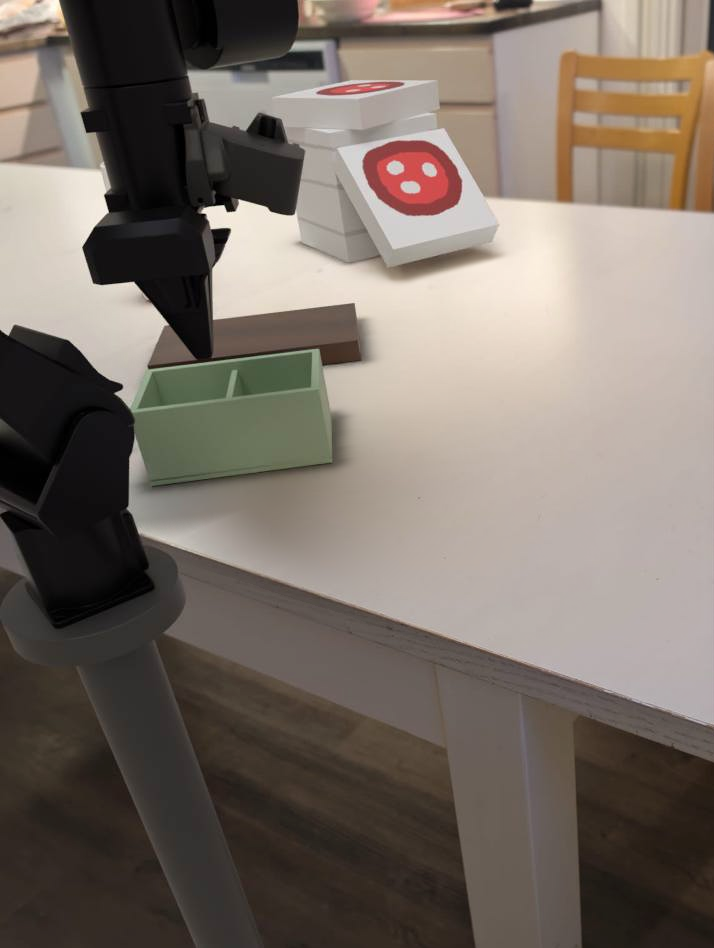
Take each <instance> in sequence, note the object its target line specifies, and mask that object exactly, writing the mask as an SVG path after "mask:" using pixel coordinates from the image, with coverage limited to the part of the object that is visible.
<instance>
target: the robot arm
mask: <svg viewBox="0 0 714 948" xmlns="http://www.w3.org/2000/svg"><path fill="white" fill-rule="evenodd" d="M58 3H59V6H60V10H61V13H62V17H63V20H64V24H65V27H66V31H67V35H68V39H69V42H70V46H71V49H72V53H73V57H74V60H75V63H76V67H77V71H78V74H79V78H80V81H81V85H82V86H83V87H82V90H83V94H84V96H85V99H86V103H87V108H85V109H83V110H82V111H80V117H81V120H82V124H83V127H84V131H85V134H92V133H95V135H96V136H95V137H96V139H97V142H98V147H99V151H100V153H101V157H102V161H103V162H104V165H105V168H106V172H107V175H108V179H109V182H110V186H111V188H110V189H109V190H108V191H107V192H106V191H105V192H104V194H103V197H104V201H105V205H106V207H107V211H108V212H107V213H106V214H105V215H104V216H103V217H102V218H101V219H100V220H99V221H98V222H97V224H95V226H93V228H92V230H91V231H90V233H89V235H88V236H87V238H86V240H85V242H84V243H83V245H82V247H81V249H82V252H83V255H84V259H85V262H86V265H87V268H88V272H89V275H90V278H91V282H92V284H93V285H98V286H107V285H108V286H109V285H119V284H126V283H127V284H128V283H134V284H135V286H136V287H137V289H139V291H141V293H142V292H143V293H144V295H145V296H146V297H147V298H148V299H149V300H148V301H149V302H150V303H151V305H152V306H153V307H154V308H155V310H156V311H157V312H158V313H159V315H160V316H162V318H163V319H164V321H165V322H166V323H167V325H169V326H170V327H171V328H172V329H173V331H174V332H175V333H176V335H177V336H178V337H179V338H180V340H181V341H182V342H183V344H184V345H185V346H186V347H187V349H188V350H189V351H190V353H191V354H192V355H193V356H194V358H195V359H197V360H202V359H210V358H211V357H212V355H213V352H214V347H213V320H214V302H213V299H214V298H213V297H214V296H213V292H214V291H213V269H214V267H215V266H216V265H217V263H219V261H220V259H221V258H222V255H223V254H224V250H225V247H226V245H227V242H228V241H229V238H230V235H231V233H232V228H230V227H217V228H211V224H210V220H209V218H208V215H207V213H203V211H204V209H206V208H210V207H211V208H212V207H221V206H224V209H225V211H226V213H235V212H237V210H238V208H239V205H240V201H242V202H247V203H249V204H250V203H251V204H254V205H257V206H261V207H265V208H267V209H268V211H269V212H270V213H273V214H276V215H281V216H286V217H287V216H290V217H291V216H294V215H295V214H296V206H297V200H298V194H299V188H300V181H301V175H302V169H303V163H304V156H305V150H304V149H302V148H300V147H299V144H295V143H293V144H289V143H288V140H287V136H286V133H285V129H284V126H283V122H282V119H280V118H276V117H274V115H269V114H266V113H262V112H257V113H256V115H255V117H254V118H253V119H252V121H251V123H250V124H249V125H248V127H247V128H246V129H245V130H244V129H240V128H241V127H239V126H236V125H232V126H228V125H227V126H226V125H223V124H219V123H215V122H211V121H210V117H209V114H208V109H207V105H206V101H205V98H200V97H199V92H193V89H192V85H191V82H190V76H189V72H188V68H187V67H188V66H187V63H188V64H189V65H191V66H192V67H193V68H196V69H199V70H204V71H205V70H211V69H217V68H218V69H219V68H224V67H230V66H236V65H242V64H248V63H255V62H261V61H267V60H275V59H279V58H282V57H284V56H286V55H288V53H289V52H290V51H291V49H292V48H293V46H294V45H295V42H296V39H297V34H298V30H299V21H300V14H299V13H300V11H299V0H58ZM186 62H187V63H186ZM123 390H124V385H123V383H120V382H118V381H114V380H111V379H109V378H107V376H105V375H103V374H101V373H100V372H99V371H98V370H97V369H96V368H95V367H94V366H93V365H92V363H91V362H90V361H89V360H88V358H87V357H86V356H85V355H84V353H83V352H82V351H81V350H79V348H78V347H77V346H75V344H73V343H72V342H71V340H69V339H67V338H63V337H59V336H56V335H52V334H50V333H46V332H42V331H39V330H37V329H36V330H35V329H32V328H29V327H25V326H22V325H18V324H14V325H12V328H11V330H10V332H9V334H6V333H5V332H3V330H1V329H0V508H1V509H2V510H5V511H3V512H0V521H1V524H2V526H3V528H4V530H5V533H6V535H7V538H8V539H9V543H10V544H11V546H12V548H13V549H12V550H13V552H14V553H15V556H16V558H17V560H18V562H19V565H20V568H21V569H22V572H23V574H24V577H25V576H26V579H27V582H26V583H25V587H26V590H27V592H28V593H29V594H30V596H31V597H32V599H33V600H34V601H35V603H36V604H37V605H38V607H39V608H40V610H41V611H42V612H43V614H44V615H45V617H46V618H47V619H48V621H49V622H50V623H51V625H52V626H53V627H54V628H55V629H61V628H64V627H67V626H69V625H71V624H74V623H76V622H79V621H81V620H83V619H86V618H88V617H91V616H93V615H96V614H98V613H100V612H103V611H105V610H108V609H110V608H112V607H115V606H117V605H120V604H122V603H125V602H127V601H129V600H132V599H134V598H137V597H139V596H141V595H144V594H146V593H149V592H151V591H153V590H154V589H155V586H154V583H153V580H152V579H151V578H150V577H149V576H148V575H147V574H146V573H145V572H144V571H145V570H147V569H148V567H149V562H148V559H147V556H146V554H145V551H144V548H143V545H144V544H143V543H142V539H141V536H140V533H139V530H138V527H137V523H136V522H135V518H134V515H133V513H131V511H129V510H128V508H129V505H130V458H131V456H132V453H133V450H134V445H135V440H136V436H135V433H134V424H135V418H134V416H133V414H132V412H131V410H130V407H129V406H128V404H126V402H125V401H124V400H123V399H122V398H121V397H120V396H118V395H117V394H116V393H118V392H120V391H123Z"/></svg>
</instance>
